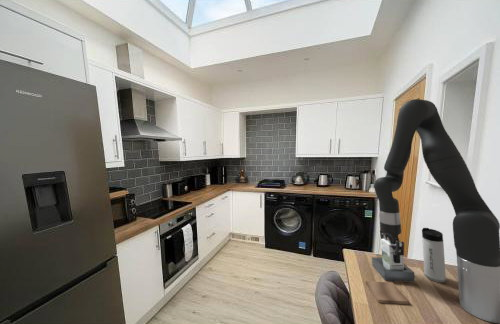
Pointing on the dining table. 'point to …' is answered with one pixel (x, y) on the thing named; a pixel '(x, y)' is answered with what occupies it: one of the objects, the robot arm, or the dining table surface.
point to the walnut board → (387, 292)
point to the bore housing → (393, 272)
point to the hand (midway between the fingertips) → (392, 258)
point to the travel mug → (433, 255)
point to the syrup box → (390, 256)
